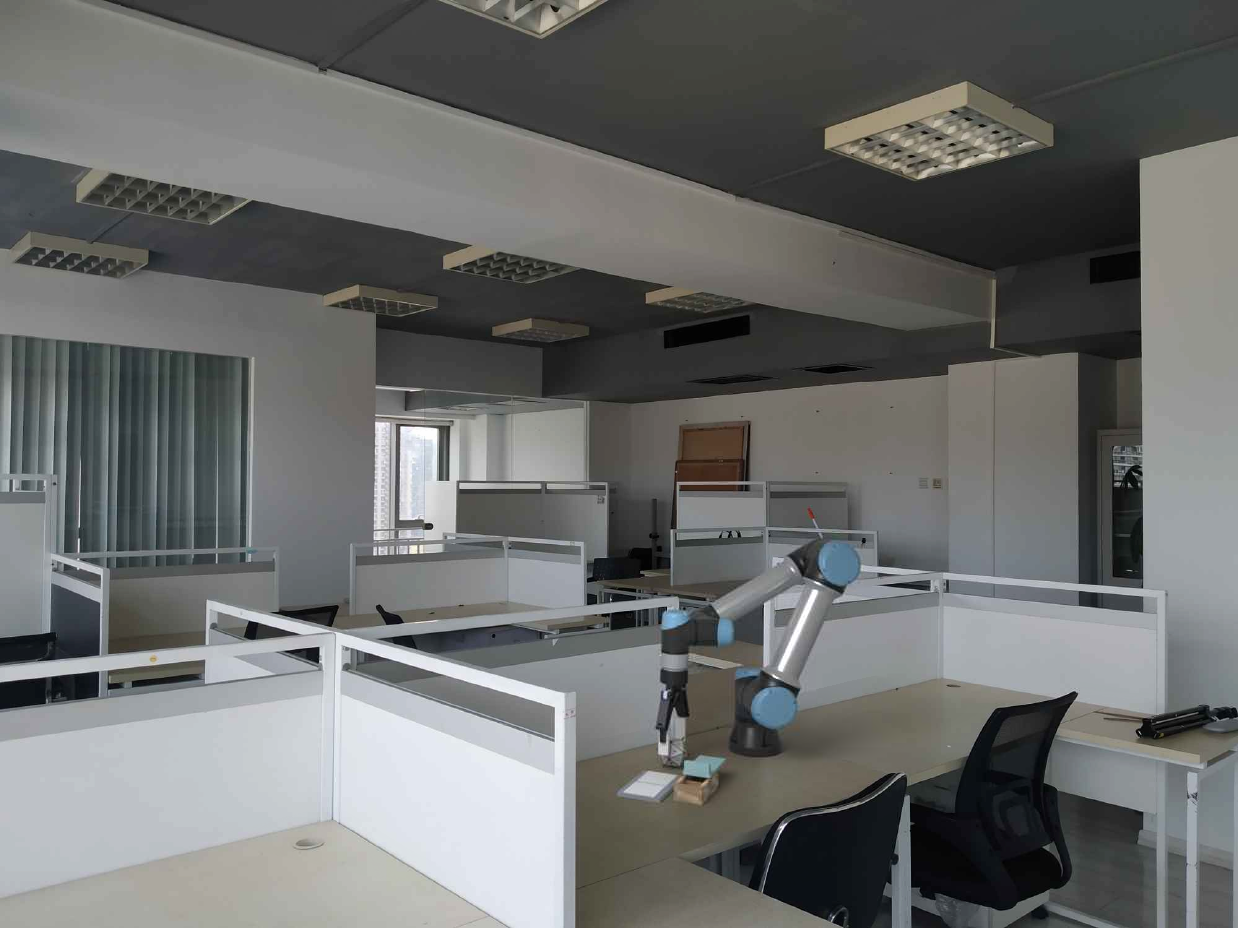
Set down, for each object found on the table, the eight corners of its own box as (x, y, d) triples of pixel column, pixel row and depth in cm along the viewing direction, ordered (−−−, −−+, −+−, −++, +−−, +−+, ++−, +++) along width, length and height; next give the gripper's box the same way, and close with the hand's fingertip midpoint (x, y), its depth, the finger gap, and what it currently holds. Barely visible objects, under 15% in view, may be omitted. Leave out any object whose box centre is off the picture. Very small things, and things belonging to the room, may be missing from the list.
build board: (643, 773, 234) (643, 769, 234) (683, 779, 230) (683, 775, 230) (617, 796, 218) (617, 791, 218) (659, 802, 213) (659, 797, 213)
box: (691, 782, 228) (692, 766, 228) (718, 786, 225) (718, 770, 225) (673, 800, 215) (673, 783, 215) (701, 804, 212) (701, 787, 213)
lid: (699, 758, 234) (700, 745, 234) (725, 761, 232) (726, 749, 232) (682, 774, 221) (683, 761, 221) (710, 778, 219) (710, 764, 219)
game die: (674, 783, 239) (668, 759, 233) (653, 764, 245) (647, 741, 239) (698, 762, 242) (693, 738, 237) (677, 744, 248) (672, 721, 243)
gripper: (676, 658, 254) (674, 734, 254) (644, 675, 231) (642, 758, 231) (701, 661, 251) (699, 737, 251) (672, 678, 228) (669, 762, 228)
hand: (672, 747), depth 241 cm, fingers open, 13 cm apart
